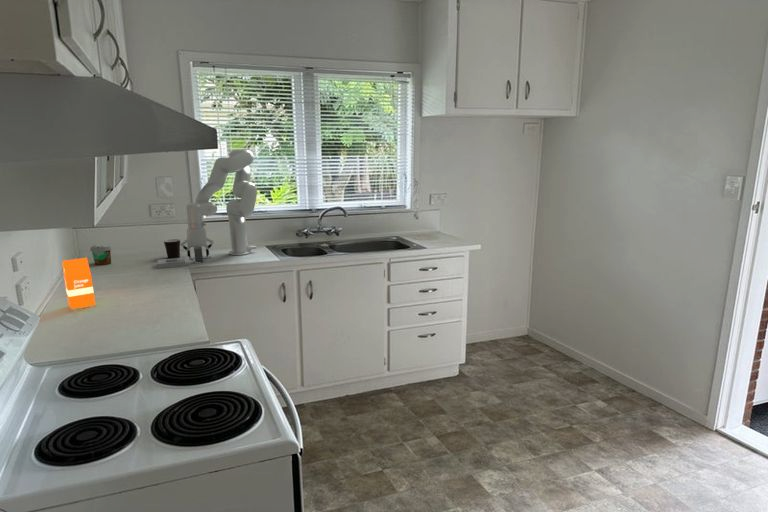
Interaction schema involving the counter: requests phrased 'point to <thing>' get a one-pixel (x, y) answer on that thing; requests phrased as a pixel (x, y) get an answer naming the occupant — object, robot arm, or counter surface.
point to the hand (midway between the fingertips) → (198, 256)
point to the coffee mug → (172, 248)
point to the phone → (203, 257)
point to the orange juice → (78, 283)
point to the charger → (198, 254)
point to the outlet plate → (171, 262)
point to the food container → (101, 255)
